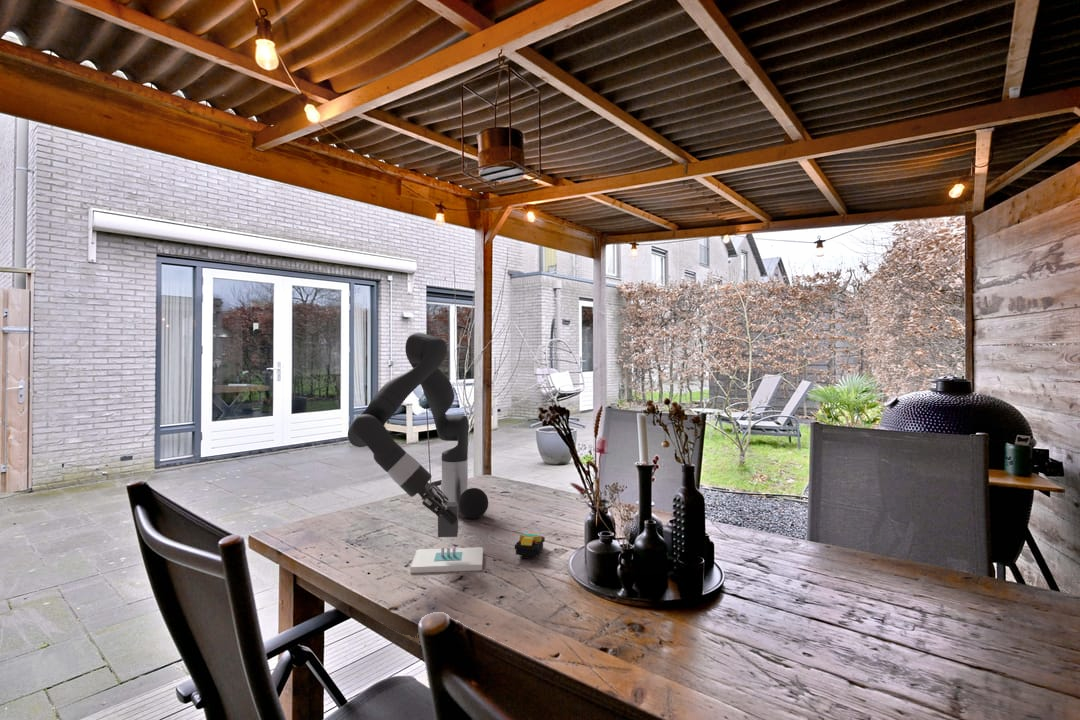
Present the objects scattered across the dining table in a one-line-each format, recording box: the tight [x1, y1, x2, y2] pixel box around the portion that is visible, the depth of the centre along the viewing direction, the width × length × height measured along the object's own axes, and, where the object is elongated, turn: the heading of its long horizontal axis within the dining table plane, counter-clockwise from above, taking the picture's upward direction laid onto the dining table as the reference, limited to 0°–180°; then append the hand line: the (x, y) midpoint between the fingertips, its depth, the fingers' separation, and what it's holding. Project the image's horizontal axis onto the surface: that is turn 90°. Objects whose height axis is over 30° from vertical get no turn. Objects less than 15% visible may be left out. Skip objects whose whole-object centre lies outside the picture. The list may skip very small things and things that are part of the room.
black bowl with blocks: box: [514, 532, 546, 559], centre depth 146 cm, size 6×13×6 cm, turn 169°
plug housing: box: [437, 502, 459, 538], centre depth 140 cm, size 5×4×8 cm
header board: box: [409, 546, 484, 574], centre depth 140 cm, size 18×12×4 cm, turn 95°
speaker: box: [458, 487, 489, 520], centre depth 178 cm, size 10×10×10 cm
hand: (455, 519), depth 140 cm, fingers closed on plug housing, 4 cm apart
